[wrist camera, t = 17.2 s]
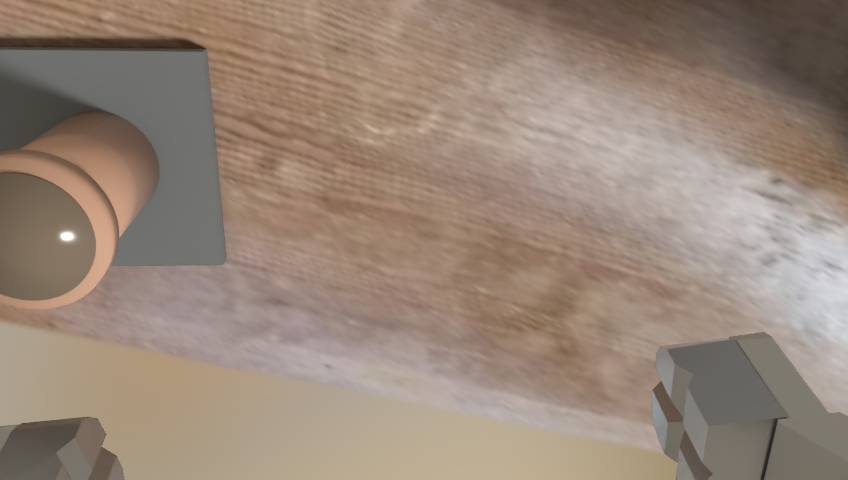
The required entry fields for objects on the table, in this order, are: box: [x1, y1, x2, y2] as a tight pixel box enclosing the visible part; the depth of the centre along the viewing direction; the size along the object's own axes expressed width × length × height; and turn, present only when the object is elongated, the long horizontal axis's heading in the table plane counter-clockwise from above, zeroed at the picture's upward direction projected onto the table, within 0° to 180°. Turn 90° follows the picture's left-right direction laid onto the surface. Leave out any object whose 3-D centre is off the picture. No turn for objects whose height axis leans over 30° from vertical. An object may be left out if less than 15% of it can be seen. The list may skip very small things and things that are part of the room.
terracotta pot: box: [0, 112, 159, 309], centre depth 31 cm, size 6×6×9 cm
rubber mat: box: [0, 47, 226, 266], centre depth 36 cm, size 11×11×1 cm
